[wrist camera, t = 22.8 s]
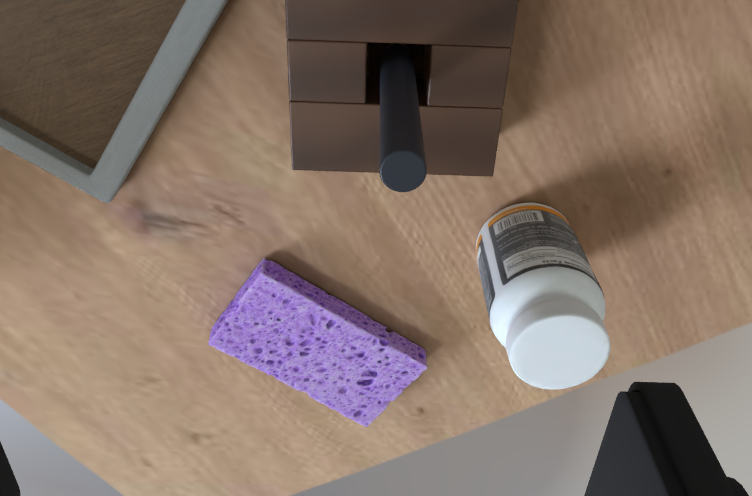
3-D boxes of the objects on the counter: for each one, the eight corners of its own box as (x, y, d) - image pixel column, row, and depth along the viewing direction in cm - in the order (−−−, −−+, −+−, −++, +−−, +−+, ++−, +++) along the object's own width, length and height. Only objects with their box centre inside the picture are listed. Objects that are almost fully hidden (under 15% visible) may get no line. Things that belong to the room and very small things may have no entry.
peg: (380, 36, 33) (380, 149, 22) (413, 37, 33) (428, 150, 22) (379, 68, 34) (378, 192, 23) (411, 69, 34) (425, 193, 23)
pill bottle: (544, 289, 41) (585, 410, 33) (458, 264, 40) (478, 382, 32) (589, 214, 38) (647, 326, 30) (498, 185, 37) (531, 293, 29)
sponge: (366, 408, 47) (366, 428, 45) (208, 326, 43) (202, 345, 41) (428, 348, 44) (430, 368, 42) (265, 254, 40) (260, 272, 38)
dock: (293, -63, 30) (283, -48, 27) (508, -55, 30) (524, -38, 27) (300, 136, 36) (291, 170, 32) (482, 142, 36) (493, 177, 32)
